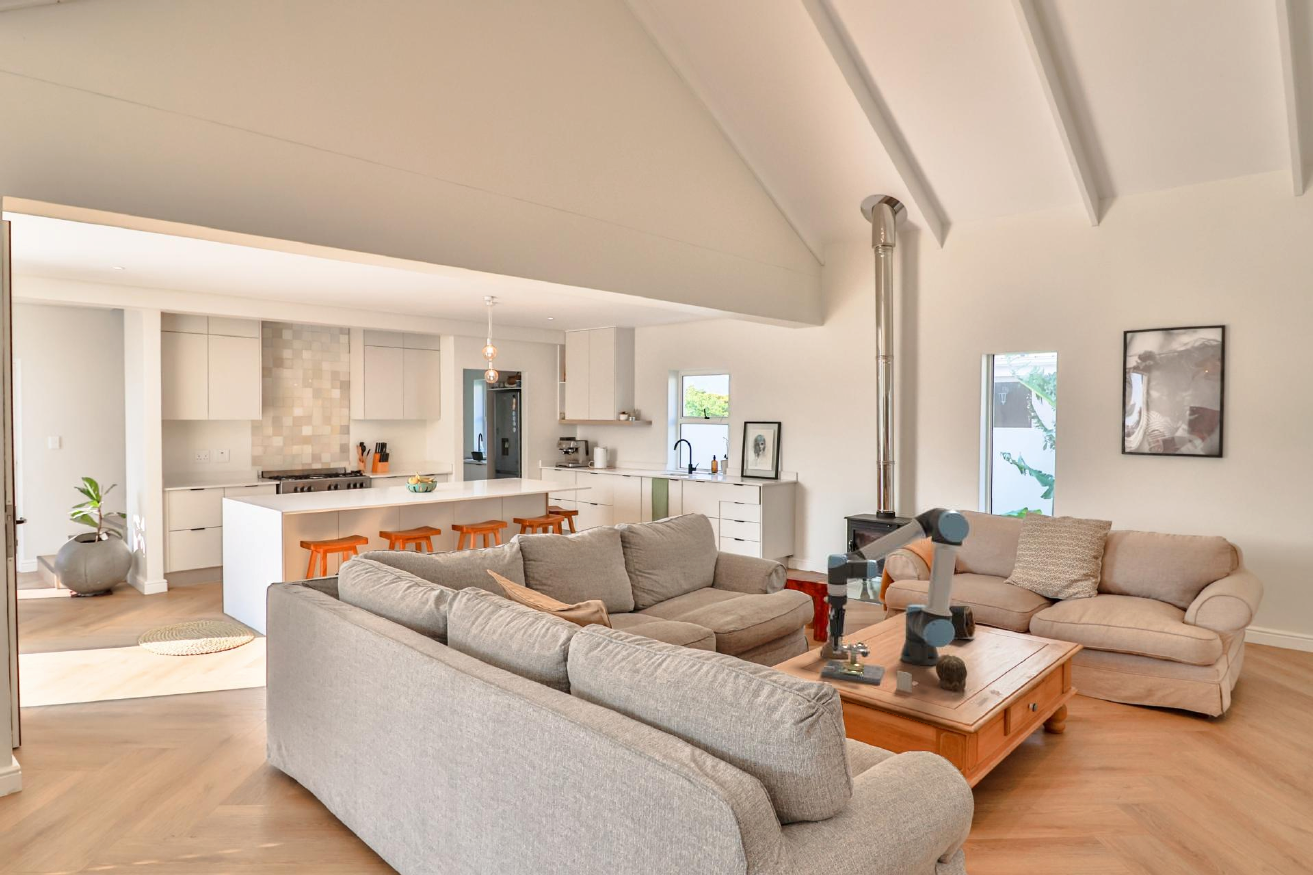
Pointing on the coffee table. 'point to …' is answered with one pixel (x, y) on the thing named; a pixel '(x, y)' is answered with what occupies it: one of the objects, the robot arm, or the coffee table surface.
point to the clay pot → (962, 622)
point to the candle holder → (827, 647)
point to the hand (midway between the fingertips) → (836, 652)
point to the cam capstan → (853, 656)
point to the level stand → (853, 673)
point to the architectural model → (905, 681)
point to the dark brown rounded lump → (951, 673)
